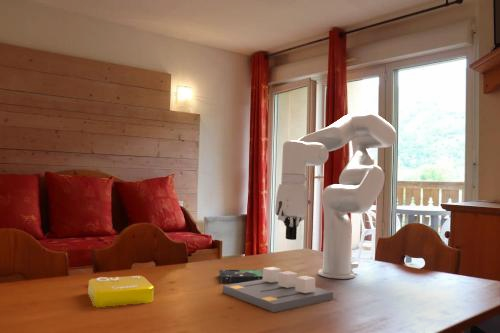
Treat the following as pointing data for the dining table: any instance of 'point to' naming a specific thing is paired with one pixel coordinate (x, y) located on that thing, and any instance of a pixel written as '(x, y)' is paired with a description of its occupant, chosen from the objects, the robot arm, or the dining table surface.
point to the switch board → (275, 295)
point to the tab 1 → (271, 274)
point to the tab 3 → (305, 284)
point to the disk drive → (240, 275)
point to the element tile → (120, 291)
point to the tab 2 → (287, 279)
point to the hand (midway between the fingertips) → (290, 239)
